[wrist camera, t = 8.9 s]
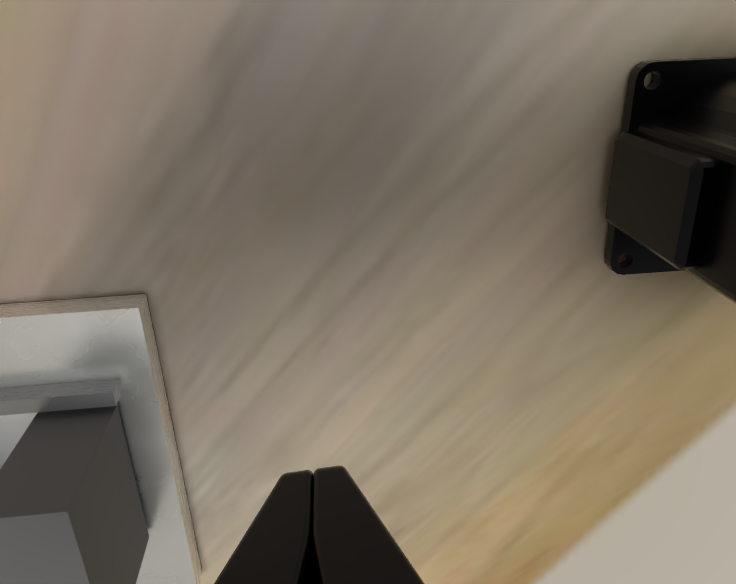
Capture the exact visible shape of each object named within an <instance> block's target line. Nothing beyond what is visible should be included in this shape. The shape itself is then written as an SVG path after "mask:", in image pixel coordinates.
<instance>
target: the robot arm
mask: <svg viewBox="0 0 736 584" xmlns="http://www.w3.org/2000/svg"><path fill="white" fill-rule="evenodd" d="M649 72H652V73H653V74H654V80H653V82H652V84H651V85H650V86H649V87H647V88H646V87H645V86H644V79H645V76H646V75H647V74H648V73H649ZM606 219H607V220H608V221H609V230H608V237H607V245H606V252H605V263H606V264H607V266H608V267H609V268H610V269H611V270H612V271H614V272H615V273H617V274H622V275H625V274H639V273H653V272H667V271H681V270H687V271H688V272H690V273H691V274H693V275H694V276H696V277H697V278H699V279H700V280H702V281H703V282H705V283H706V284H708V285H709V286H711V287H712V288H714V289H715V290H717V291H718V292H720V293H721V294H723V295H724V296H726V297H727V298H729V299H730V300H732V301H733V302H735V303H736V57H720V58H698V59H675V60H653V61H645V62H641V63H640V64H638V65H637V66H636V67H635V68H634V69H633V71H632V72H631V74H630V78H629V82H628V89H627V97H626V104H625V111H624V119H623V126H622V133H621V134H620V136H619V137H618V138H617V139H616V141H615V147H614V154H613V162H612V170H611V177H610V185H609V192H608V200H607V208H606ZM624 253H627V257H626V259H625V260H624V261H623V262H621V263H618V259H619V257H620V256H621V255H622V254H624ZM214 584H424V582H423V581H422V580H421V578H420V577H419V575H418V574H417V572H416V571H415V569H414V568H413V566H412V565H411V563H410V562H409V561H408V559H407V558H406V556H405V555H404V553H403V552H402V550H401V549H400V547H399V546H398V544H397V543H396V542H395V540H394V539H393V537H392V536H391V534H390V533H389V531H388V530H387V528H386V527H385V526H384V524H383V523H382V521H381V520H380V518H379V517H378V515H377V514H376V512H375V511H374V509H373V508H372V507H371V505H370V504H369V502H368V501H367V499H366V498H365V496H364V495H363V493H362V492H361V490H360V489H359V488H358V486H357V485H356V483H355V482H354V480H353V479H352V477H351V476H350V474H349V473H348V471H347V470H346V469H345V468H344V467H343V466H333V467H326V468H319V469H316V470H315V472H314V474H313V473H312V471H310V470H304V471H297V472H290V473H285V474H283V475H282V476H281V477H280V479H279V480H278V482H277V484H276V485H275V487H274V488H273V490H272V492H271V493H270V495H269V496H268V498H267V500H266V501H265V503H264V504H263V506H262V508H261V509H260V511H259V513H258V514H257V516H256V517H255V519H254V521H253V522H252V524H251V525H250V527H249V529H248V530H247V532H246V533H245V535H244V537H243V538H242V540H241V541H240V543H239V545H238V546H237V548H236V549H235V551H234V553H233V554H232V556H231V558H230V559H229V561H228V562H227V564H226V566H225V567H224V569H223V570H222V572H221V574H220V575H219V577H218V578H217V580H216V582H215V583H214Z"/></svg>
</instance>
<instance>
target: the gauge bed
mask: <svg viewBox="0 0 736 584" xmlns="http://www.w3.org/2000/svg"><path fill="white" fill-rule="evenodd" d="M116 405H117V406H118V410H119V414H120V418H121V422H122V427H123V431H124V435H125V439H126V443H127V447H128V451H129V455H130V459H131V464H132V468H133V472H134V476H135V480H136V484H137V488H138V492H139V497H140V501H141V505H142V509H143V513H144V517H145V521H146V525H147V530H148V534H149V540H148V543H147V547H146V550H145V554H144V557H143V561H142V564H141V568H140V571H139V575H138V578H137V582H136V584H200V578H201V573H202V569H201V564H200V559H199V554H198V550H197V545H196V540H195V535H194V530H193V525H192V520H191V515H190V510H189V505H188V500H187V495H186V490H185V485H184V480H183V475H182V470H181V465H180V460H179V455H178V450H177V445H176V440H175V435H174V430H173V425H172V420H171V415H170V410H169V405H168V400H167V396H166V391H165V386H164V381H163V376H162V371H161V366H160V361H159V356H158V351H157V346H156V341H155V336H154V331H153V326H152V321H151V316H150V311H149V306H148V301H147V296H146V294H139V295H125V296H111V297H96V298H82V299H68V300H54V301H40V302H26V303H12V304H0V469H1V467H2V466H3V464H4V463H5V461H6V460H7V458H8V457H9V455H10V454H11V452H12V451H13V449H14V448H15V446H16V445H17V443H18V442H19V440H20V438H21V437H22V435H23V434H24V432H25V431H26V429H27V428H28V426H29V425H30V423H31V422H32V420H33V419H34V417H35V416H36V414H37V413H38V412H49V411H61V410H73V409H85V408H97V407H109V406H116Z"/></svg>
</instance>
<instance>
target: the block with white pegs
mask: <svg viewBox="0 0 736 584" xmlns="http://www.w3.org/2000/svg"><path fill="white" fill-rule="evenodd" d="M148 540H149V534H148V530H147V525H146V521H145V517H144V513H143V509H142V505H141V501H140V497H139V492H138V488H137V484H136V480H135V476H134V472H133V468H132V464H131V459H130V455H129V451H128V447H127V443H126V439H125V435H124V431H123V427H122V422H121V418H120V414H119V410H118V406H117V405H116V406H109V407H97V408H85V409H73V410H61V411H49V412H38V413H37V414H36V416H35V417H34V419H33V420H32V422H31V423H30V425H29V426H28V428H27V429H26V431H25V432H24V434H23V435H22V437H21V438H20V440H19V442H18V443H17V445H16V446H15V448H14V449H13V451H12V452H11V454H10V455H9V457H8V458H7V460H6V461H5V463H4V464H3V466H2V467H1V469H0V584H136V582H137V578H138V575H139V571H140V568H141V564H142V561H143V557H144V554H145V550H146V547H147V543H148Z"/></svg>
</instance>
